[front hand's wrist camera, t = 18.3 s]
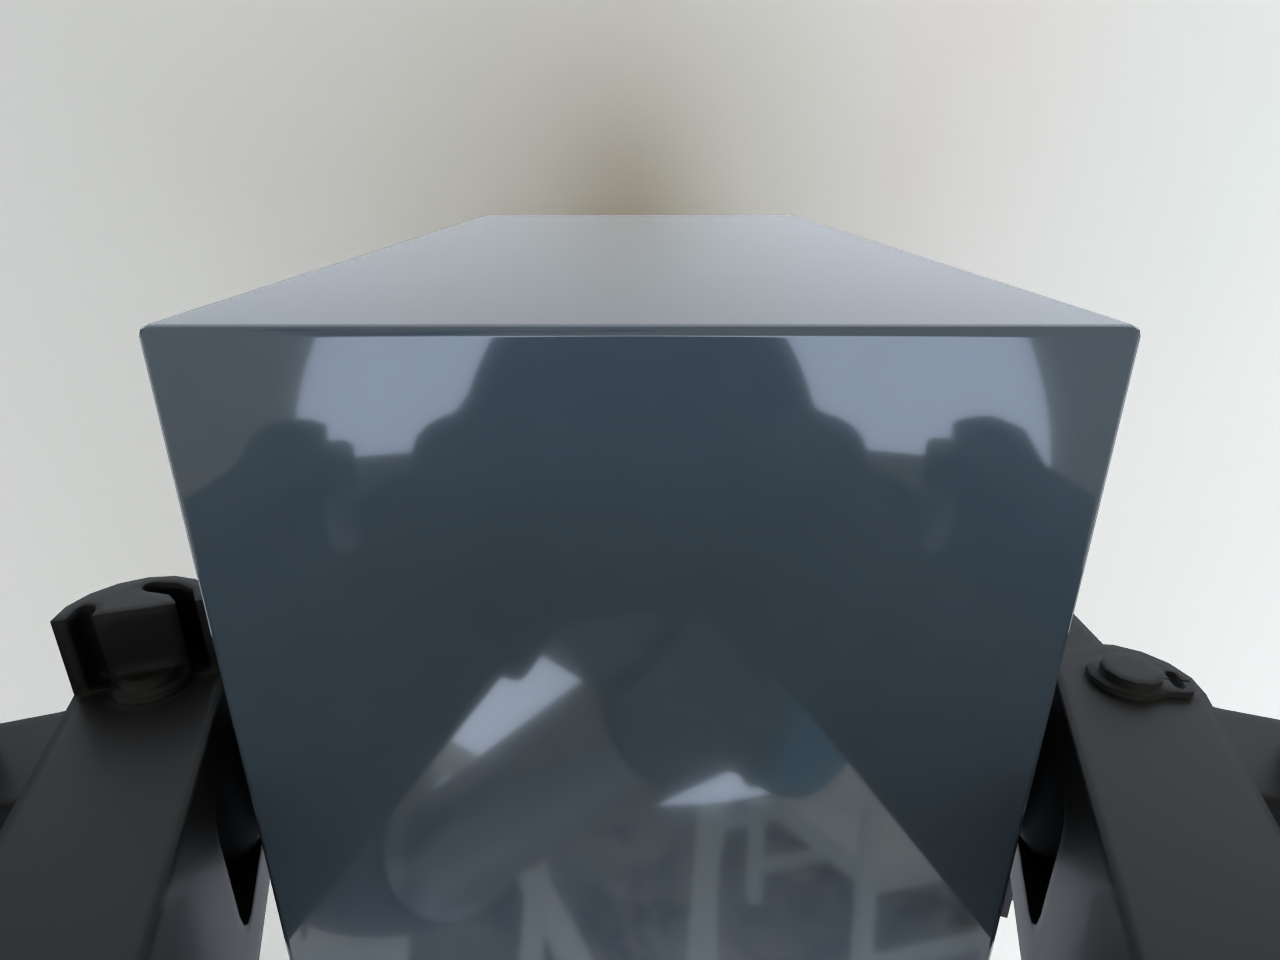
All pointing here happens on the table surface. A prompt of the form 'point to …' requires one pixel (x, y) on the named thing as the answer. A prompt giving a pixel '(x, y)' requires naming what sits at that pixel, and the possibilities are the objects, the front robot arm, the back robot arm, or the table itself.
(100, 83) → the table surface
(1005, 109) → the table surface
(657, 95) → the table surface
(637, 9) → the table surface
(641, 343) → the block
